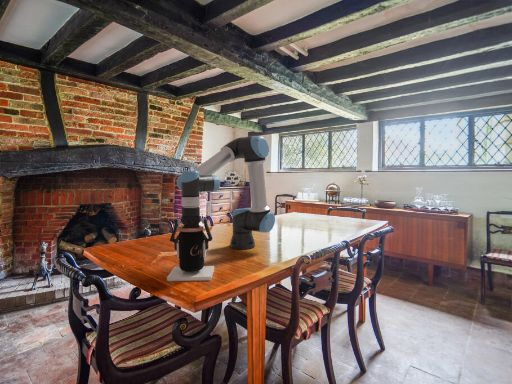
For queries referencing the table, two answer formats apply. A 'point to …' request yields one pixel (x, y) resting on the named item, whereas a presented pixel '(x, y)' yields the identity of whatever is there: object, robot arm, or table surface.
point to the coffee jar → (191, 249)
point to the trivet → (191, 274)
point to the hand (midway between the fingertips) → (191, 257)
